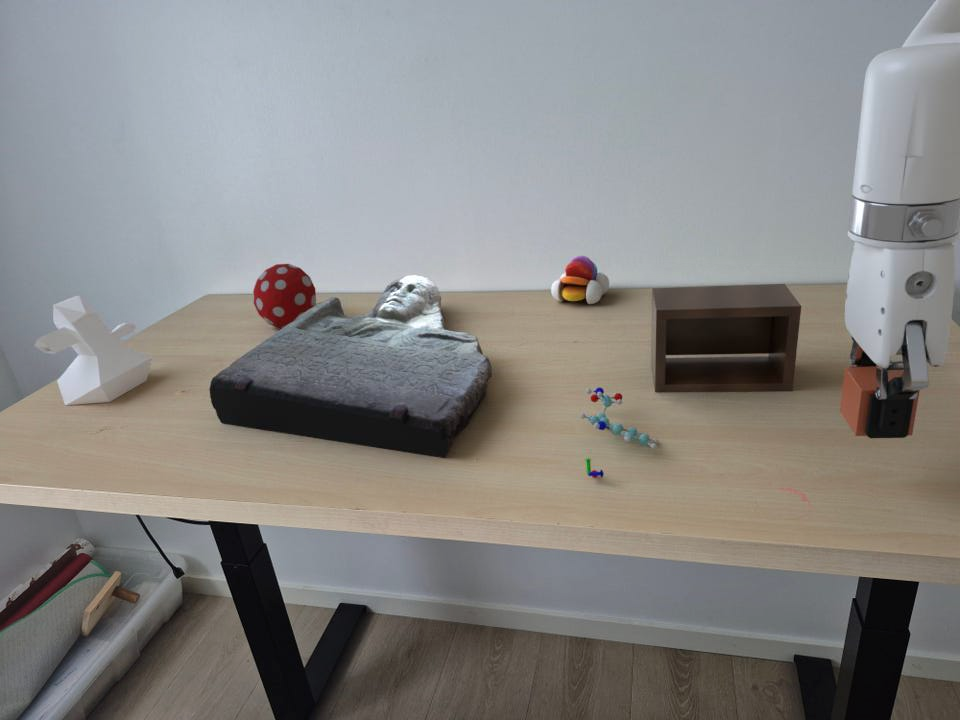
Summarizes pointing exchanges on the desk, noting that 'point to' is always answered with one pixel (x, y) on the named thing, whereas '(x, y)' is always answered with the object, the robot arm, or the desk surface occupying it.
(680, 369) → the shelf
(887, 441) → the desk surface
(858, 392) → the box
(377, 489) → the desk surface
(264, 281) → the red polka dot ball
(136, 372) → the white animal head
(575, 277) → the rainbow toy buggy
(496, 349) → the desk surface
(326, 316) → the bust sculpture
